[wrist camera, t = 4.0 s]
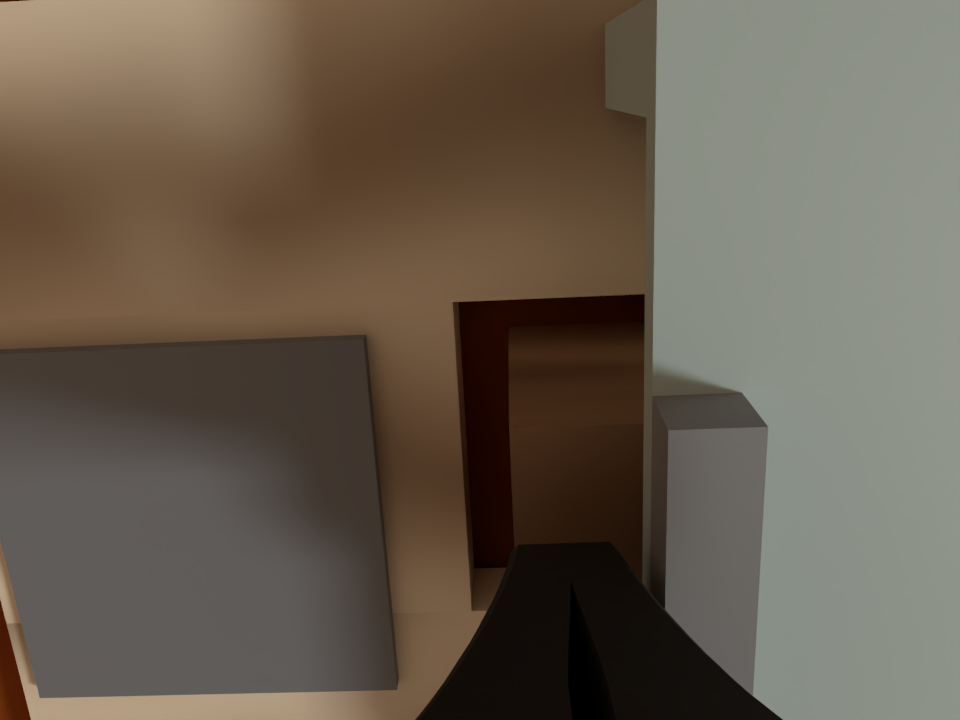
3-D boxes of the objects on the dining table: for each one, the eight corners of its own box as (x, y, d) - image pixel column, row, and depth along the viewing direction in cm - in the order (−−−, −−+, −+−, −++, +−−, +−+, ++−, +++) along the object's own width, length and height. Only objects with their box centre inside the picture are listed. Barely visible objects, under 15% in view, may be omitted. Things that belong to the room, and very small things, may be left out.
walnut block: (725, 519, 17) (810, 686, 12) (516, 525, 17) (520, 692, 13) (734, 316, 16) (832, 416, 11) (508, 325, 16) (509, 428, 11)
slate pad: (398, 679, 17) (397, 690, 16) (47, 687, 17) (39, 698, 17) (366, 334, 15) (363, 339, 14) (-35, 350, 15) (-46, 355, 15)
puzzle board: (1418, 889, 19) (1491, 954, 18) (122, 905, 21) (94, 966, 19) (1785, -91, 13) (1938, -111, 12) (-87, 18, 15) (-150, 11, 13)
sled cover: (1019, 787, 17) (1256, 1114, 11) (608, 794, 17) (655, 1115, 12) (1159, -7, 12) (1656, -78, 7) (605, 23, 13) (676, -20, 7)
